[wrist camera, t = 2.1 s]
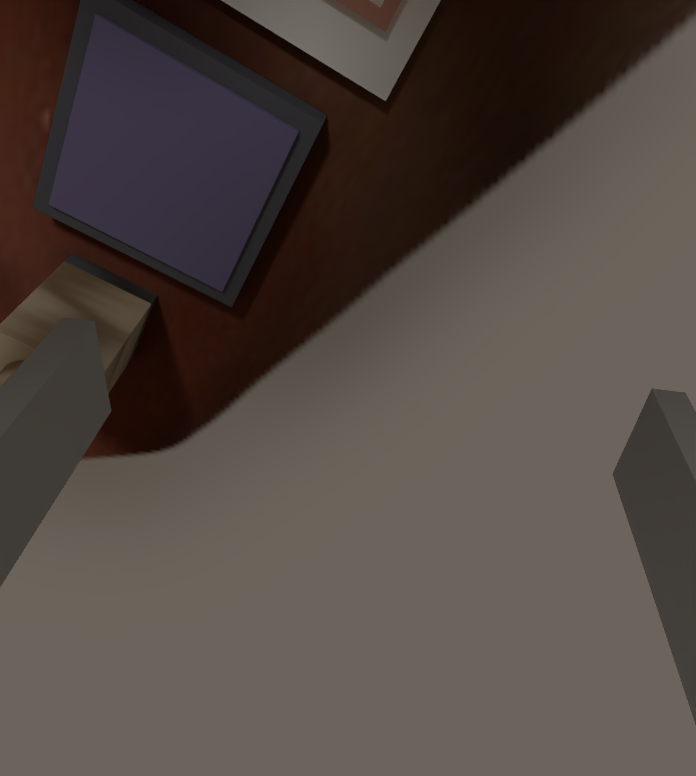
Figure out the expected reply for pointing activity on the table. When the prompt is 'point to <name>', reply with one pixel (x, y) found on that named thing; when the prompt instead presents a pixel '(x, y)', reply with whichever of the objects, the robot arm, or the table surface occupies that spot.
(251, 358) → the table surface
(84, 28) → the ink pad
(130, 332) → the stamp
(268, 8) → the print sheet
